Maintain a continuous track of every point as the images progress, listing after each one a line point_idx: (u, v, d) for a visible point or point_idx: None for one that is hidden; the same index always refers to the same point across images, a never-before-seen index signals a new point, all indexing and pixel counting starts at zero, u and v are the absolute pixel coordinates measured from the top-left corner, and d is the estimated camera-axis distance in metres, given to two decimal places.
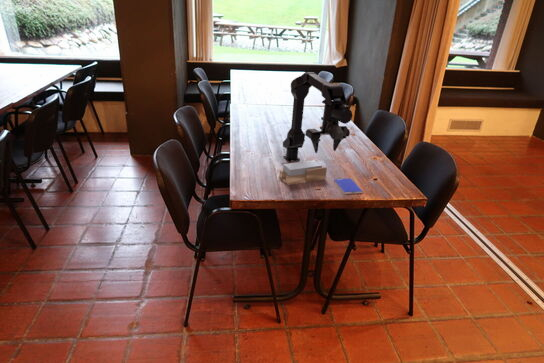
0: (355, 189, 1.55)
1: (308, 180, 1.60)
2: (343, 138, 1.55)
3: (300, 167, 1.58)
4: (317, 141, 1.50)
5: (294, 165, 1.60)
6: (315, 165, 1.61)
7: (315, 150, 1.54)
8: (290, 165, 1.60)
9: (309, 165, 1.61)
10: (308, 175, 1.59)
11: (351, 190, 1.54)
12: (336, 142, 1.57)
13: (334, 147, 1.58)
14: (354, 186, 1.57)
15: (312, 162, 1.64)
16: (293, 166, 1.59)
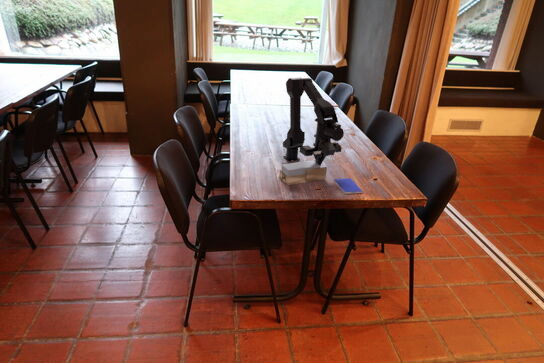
0: (355, 189, 1.55)
1: (308, 180, 1.60)
2: None
3: (298, 167, 1.58)
4: (319, 156, 1.60)
5: (292, 165, 1.60)
6: (313, 165, 1.61)
7: None
8: (288, 165, 1.59)
9: (307, 165, 1.61)
10: (308, 175, 1.59)
11: (351, 190, 1.54)
12: None
13: (319, 163, 1.65)
14: (354, 186, 1.57)
15: (310, 162, 1.64)
16: (291, 166, 1.59)
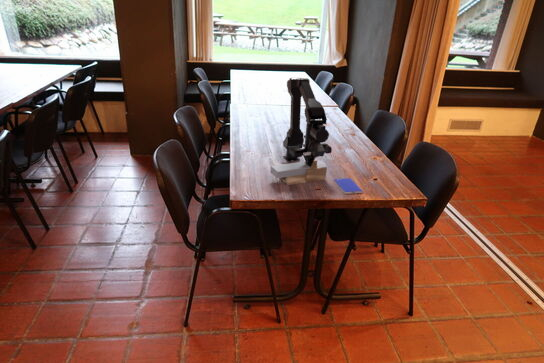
0: (355, 189, 1.55)
1: (308, 180, 1.60)
2: None
3: (288, 169, 1.56)
4: (309, 157, 1.58)
5: (282, 166, 1.58)
6: (303, 167, 1.59)
7: None
8: (277, 166, 1.57)
9: (297, 167, 1.58)
10: (308, 175, 1.59)
11: (351, 190, 1.54)
12: (310, 160, 1.61)
13: None
14: (354, 186, 1.57)
15: (300, 163, 1.62)
16: (281, 167, 1.57)
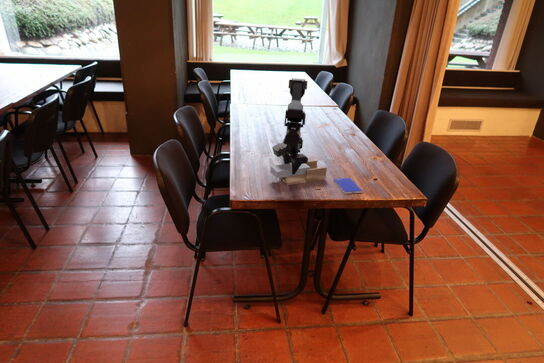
0: (355, 189, 1.55)
1: (308, 180, 1.60)
2: None
3: (287, 169, 1.56)
4: None
5: (282, 166, 1.58)
6: (303, 167, 1.59)
7: None
8: (277, 166, 1.57)
9: None
10: (308, 175, 1.59)
11: (351, 190, 1.54)
12: None
13: None
14: (354, 186, 1.58)
15: None
16: (281, 167, 1.57)
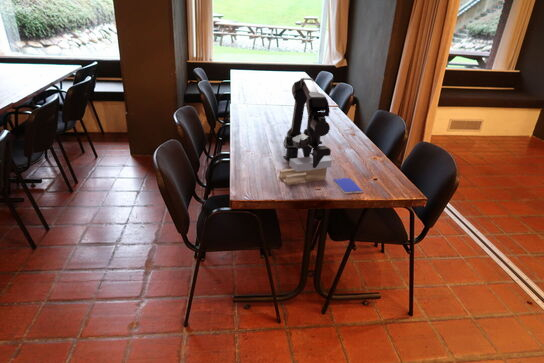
0: (355, 189, 1.55)
1: (308, 180, 1.60)
2: (312, 155, 1.42)
3: (308, 162, 1.46)
4: (301, 147, 1.50)
5: (302, 159, 1.48)
6: (324, 160, 1.49)
7: None
8: (296, 159, 1.47)
9: None
10: (308, 175, 1.59)
11: (351, 190, 1.54)
12: None
13: None
14: (354, 185, 1.58)
15: None
16: (300, 160, 1.47)
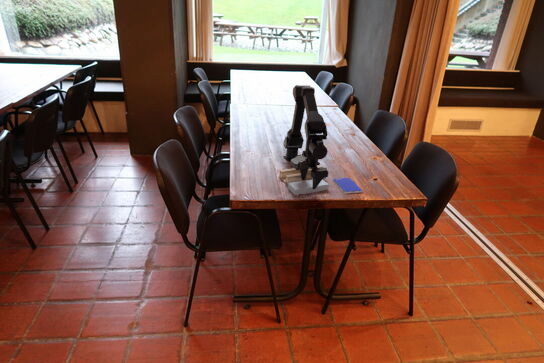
0: (355, 188, 1.55)
1: None
2: None
3: (306, 186, 1.51)
4: None
5: (300, 184, 1.52)
6: (321, 184, 1.54)
7: None
8: (295, 184, 1.52)
9: None
10: (308, 175, 1.59)
11: (351, 190, 1.54)
12: None
13: None
14: (354, 185, 1.58)
15: None
16: (299, 185, 1.51)
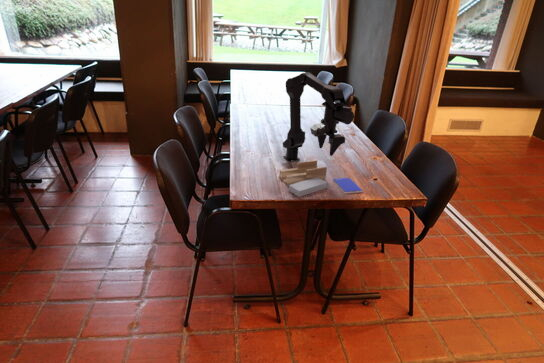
0: (355, 188, 1.55)
1: None
2: (330, 144, 1.54)
3: (307, 187, 1.50)
4: None
5: (300, 185, 1.52)
6: (321, 183, 1.55)
7: None
8: (296, 185, 1.51)
9: (315, 183, 1.54)
10: (308, 175, 1.59)
11: (351, 189, 1.54)
12: None
13: None
14: (354, 185, 1.58)
15: (316, 179, 1.57)
16: (300, 186, 1.51)
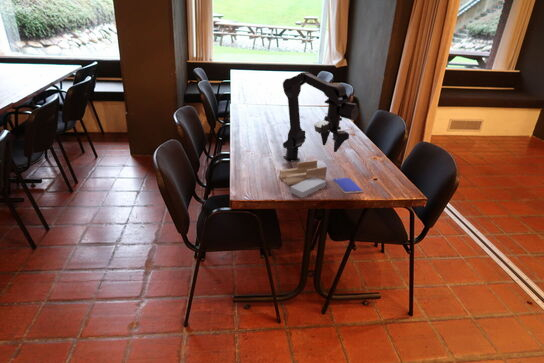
0: (355, 188, 1.55)
1: None
2: (334, 140, 1.57)
3: (309, 187, 1.50)
4: None
5: (301, 185, 1.51)
6: (320, 182, 1.55)
7: None
8: (297, 186, 1.50)
9: (315, 183, 1.54)
10: (308, 175, 1.59)
11: (351, 189, 1.54)
12: None
13: None
14: (354, 185, 1.58)
15: (314, 179, 1.58)
16: (301, 187, 1.50)
